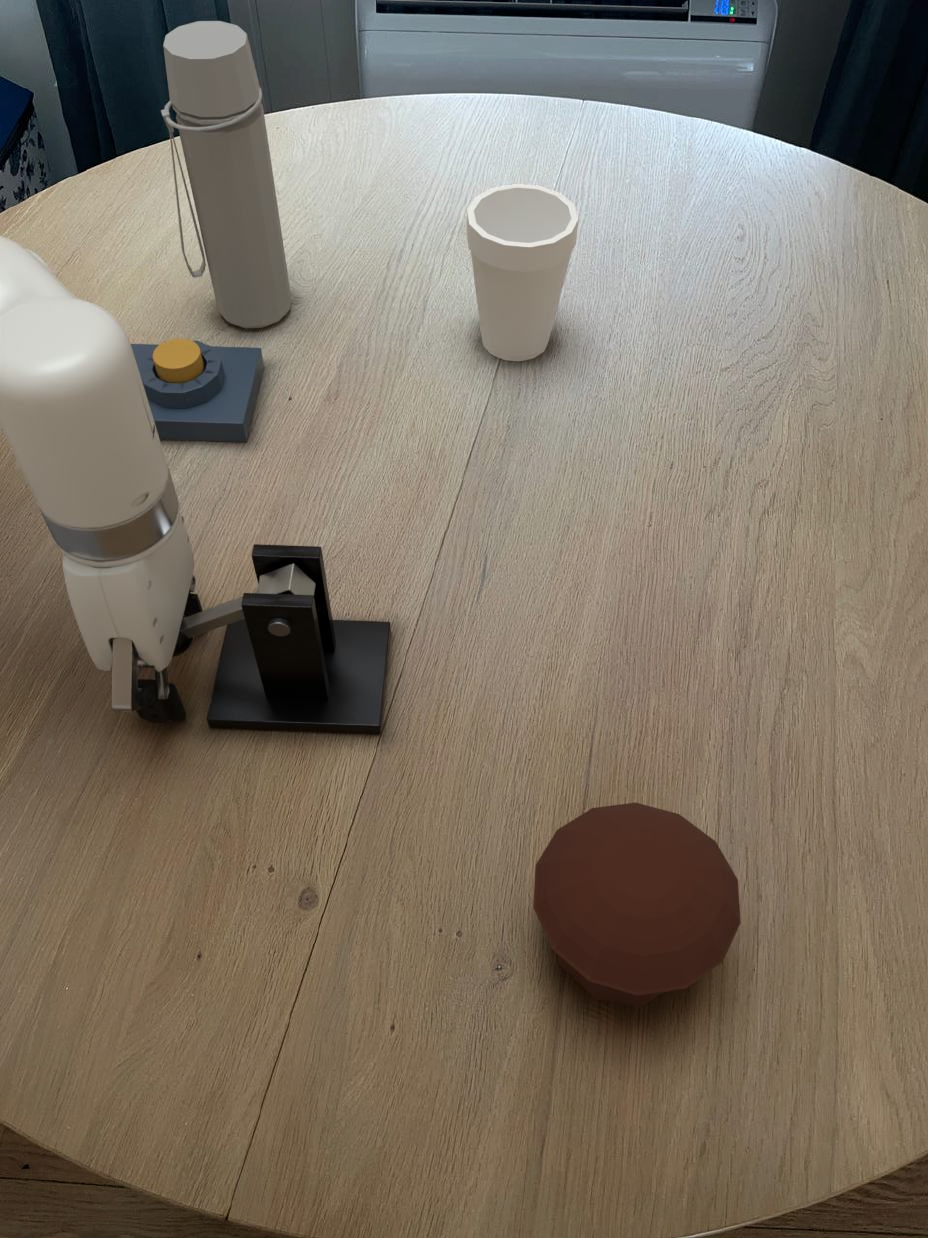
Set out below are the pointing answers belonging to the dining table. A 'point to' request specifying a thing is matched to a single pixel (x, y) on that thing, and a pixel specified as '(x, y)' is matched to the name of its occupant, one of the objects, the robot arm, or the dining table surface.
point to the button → (178, 361)
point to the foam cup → (519, 265)
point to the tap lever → (230, 612)
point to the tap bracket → (299, 659)
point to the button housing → (205, 394)
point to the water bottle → (227, 170)
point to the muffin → (635, 902)
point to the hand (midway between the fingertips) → (174, 670)
